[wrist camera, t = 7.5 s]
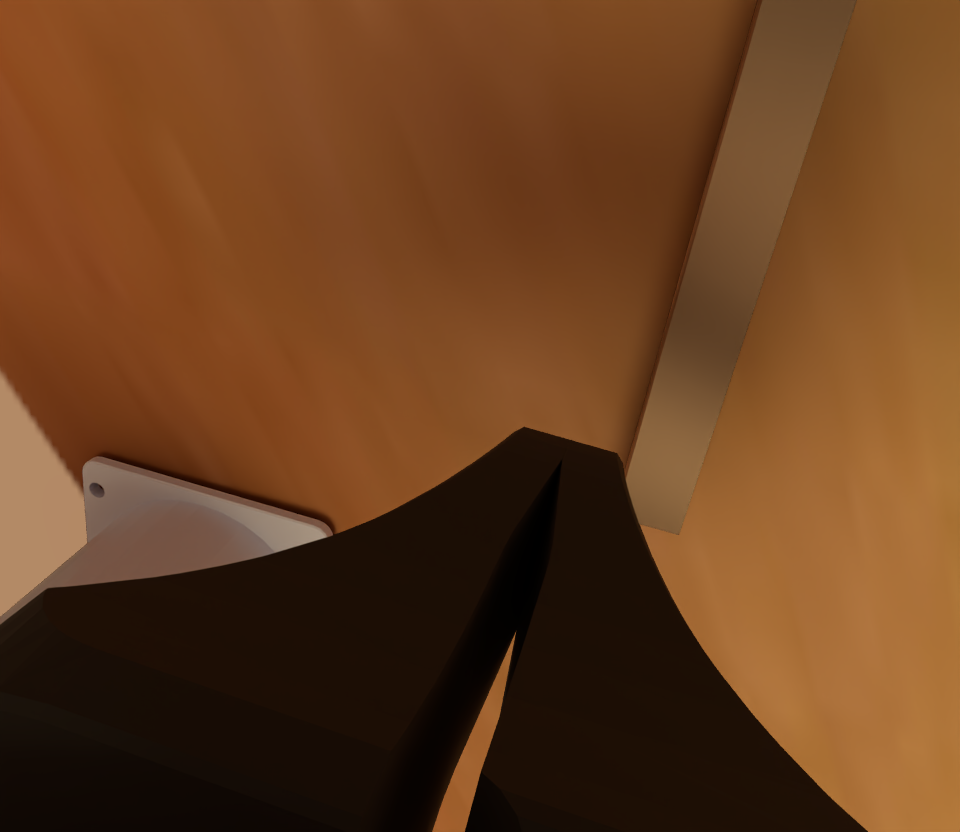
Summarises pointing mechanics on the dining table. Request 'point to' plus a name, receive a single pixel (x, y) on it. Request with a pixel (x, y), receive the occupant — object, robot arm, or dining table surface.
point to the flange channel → (732, 246)
